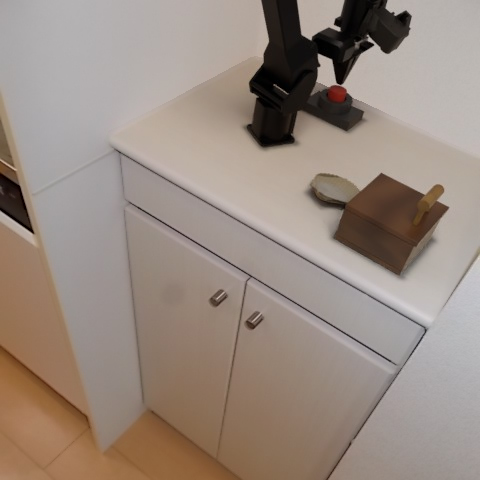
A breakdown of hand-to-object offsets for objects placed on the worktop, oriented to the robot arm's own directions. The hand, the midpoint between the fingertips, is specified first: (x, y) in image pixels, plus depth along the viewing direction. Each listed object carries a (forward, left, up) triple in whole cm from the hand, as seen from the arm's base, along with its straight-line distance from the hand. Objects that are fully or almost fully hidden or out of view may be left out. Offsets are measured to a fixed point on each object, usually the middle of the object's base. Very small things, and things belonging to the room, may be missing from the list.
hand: (339, 83), depth 94 cm
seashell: (-13, -22, -6) cm, 27 cm away
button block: (0, 0, -6) cm, 6 cm away
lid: (-11, -33, -1) cm, 35 cm away
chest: (-11, -33, -6) cm, 35 cm away
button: (0, 0, -3) cm, 3 cm away
